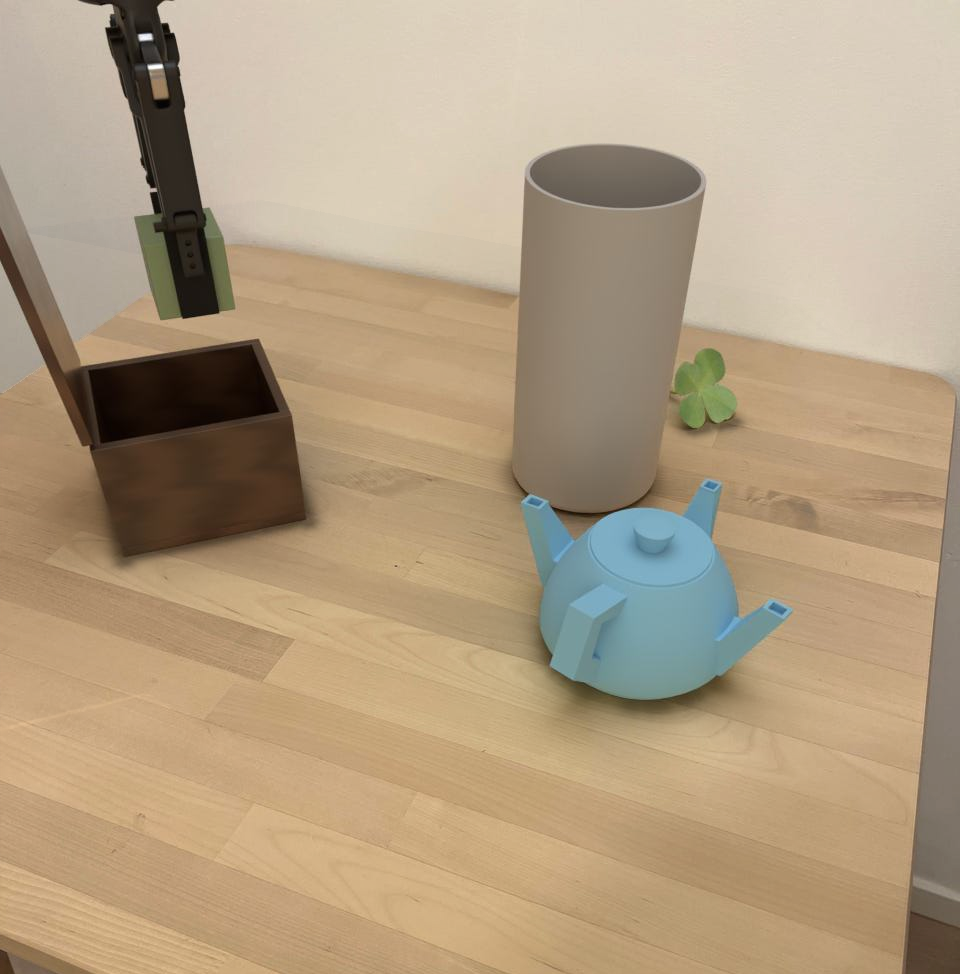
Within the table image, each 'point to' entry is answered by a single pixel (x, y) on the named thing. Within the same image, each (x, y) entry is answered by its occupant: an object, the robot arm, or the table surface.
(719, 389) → the green clover leaf
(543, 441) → the cylinder vase
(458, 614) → the table surface
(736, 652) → the teapot
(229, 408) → the chest
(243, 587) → the table surface
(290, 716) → the table surface
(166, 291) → the block
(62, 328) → the lid
